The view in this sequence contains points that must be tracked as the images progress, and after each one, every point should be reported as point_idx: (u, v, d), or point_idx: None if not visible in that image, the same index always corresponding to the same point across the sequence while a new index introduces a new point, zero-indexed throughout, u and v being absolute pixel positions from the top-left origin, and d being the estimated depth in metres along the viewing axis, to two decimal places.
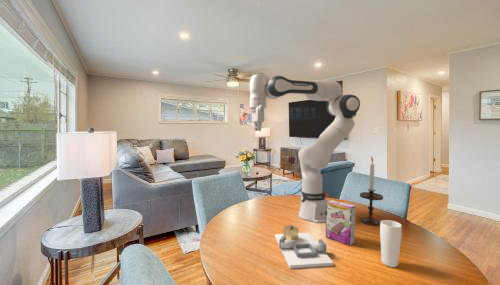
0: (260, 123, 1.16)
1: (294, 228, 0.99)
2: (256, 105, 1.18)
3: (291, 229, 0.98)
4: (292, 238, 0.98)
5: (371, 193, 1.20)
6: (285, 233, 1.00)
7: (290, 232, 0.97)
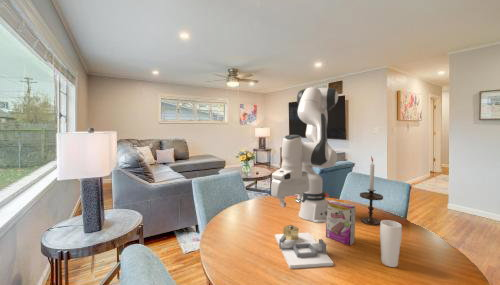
0: None
1: (294, 228, 0.99)
2: None
3: (291, 229, 0.98)
4: (292, 238, 0.98)
5: (371, 193, 1.20)
6: (285, 233, 1.00)
7: (290, 232, 0.97)
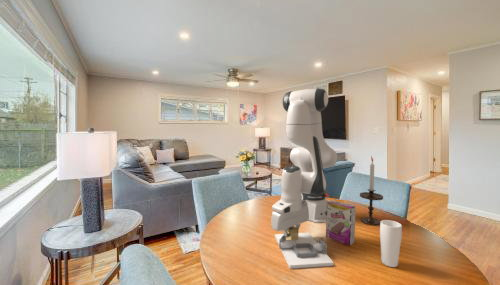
0: None
1: (294, 228, 0.99)
2: None
3: (291, 229, 0.98)
4: (293, 238, 0.98)
5: (371, 193, 1.20)
6: None
7: (290, 232, 0.97)
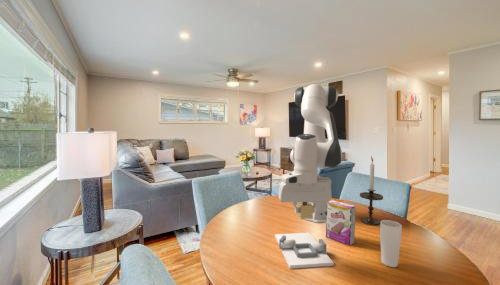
0: None
1: (307, 204, 0.87)
2: (317, 179, 0.87)
3: (303, 204, 0.87)
4: (303, 215, 0.86)
5: (371, 193, 1.20)
6: None
7: (300, 207, 0.86)
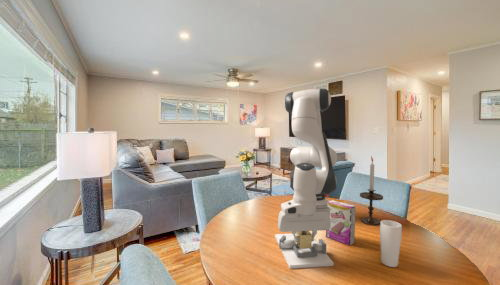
0: None
1: (306, 234, 0.88)
2: (316, 208, 0.88)
3: (302, 234, 0.88)
4: (302, 245, 0.87)
5: (371, 193, 1.20)
6: None
7: (299, 236, 0.87)
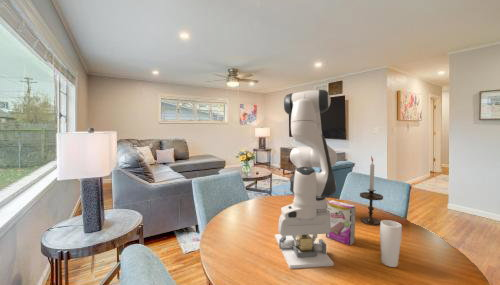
0: None
1: (307, 237, 0.88)
2: (316, 212, 0.88)
3: (302, 238, 0.88)
4: (303, 248, 0.87)
5: (371, 193, 1.20)
6: None
7: (300, 240, 0.87)
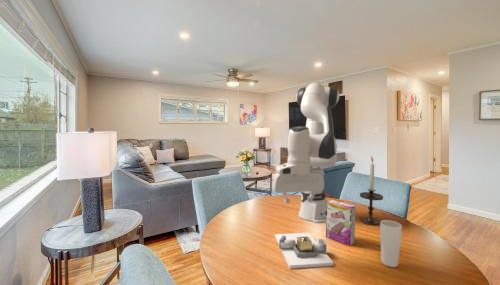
0: None
1: (307, 241, 0.88)
2: (310, 170, 0.90)
3: (302, 241, 0.88)
4: (303, 252, 0.87)
5: (371, 193, 1.20)
6: (297, 244, 0.90)
7: (300, 243, 0.87)
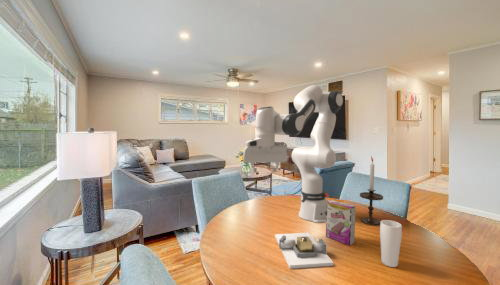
0: None
1: (307, 241, 0.88)
2: (274, 143, 1.05)
3: (302, 241, 0.88)
4: (303, 252, 0.87)
5: (371, 193, 1.20)
6: (297, 244, 0.90)
7: (300, 243, 0.87)
